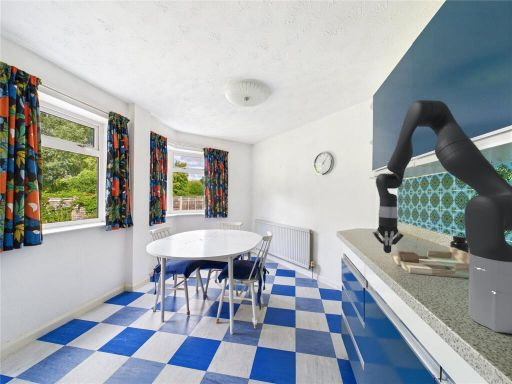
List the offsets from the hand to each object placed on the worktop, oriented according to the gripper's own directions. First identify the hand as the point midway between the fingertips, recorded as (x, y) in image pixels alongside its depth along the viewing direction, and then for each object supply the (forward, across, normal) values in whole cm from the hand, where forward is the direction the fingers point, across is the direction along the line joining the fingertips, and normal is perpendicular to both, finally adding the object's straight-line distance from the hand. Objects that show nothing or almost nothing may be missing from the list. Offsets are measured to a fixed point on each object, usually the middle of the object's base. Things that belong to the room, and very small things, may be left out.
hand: (387, 252), depth 99 cm
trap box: (+5, +18, 0) cm, 19 cm away
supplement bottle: (+6, +38, +16) cm, 41 cm away
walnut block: (+3, +8, 0) cm, 9 cm away
